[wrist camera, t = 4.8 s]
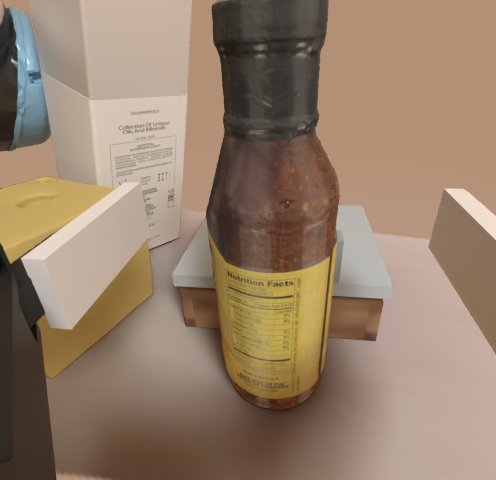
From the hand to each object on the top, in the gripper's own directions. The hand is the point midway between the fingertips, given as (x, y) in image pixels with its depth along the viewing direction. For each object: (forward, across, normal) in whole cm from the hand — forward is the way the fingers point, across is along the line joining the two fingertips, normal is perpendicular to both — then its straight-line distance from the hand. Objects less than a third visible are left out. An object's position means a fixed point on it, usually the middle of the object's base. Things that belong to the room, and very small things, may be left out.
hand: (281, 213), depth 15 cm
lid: (+11, 0, -8) cm, 14 cm away
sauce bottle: (+1, 0, -12) cm, 12 cm away
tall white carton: (+17, -18, -11) cm, 27 cm away
